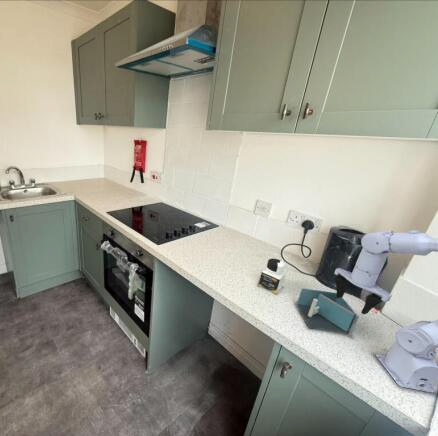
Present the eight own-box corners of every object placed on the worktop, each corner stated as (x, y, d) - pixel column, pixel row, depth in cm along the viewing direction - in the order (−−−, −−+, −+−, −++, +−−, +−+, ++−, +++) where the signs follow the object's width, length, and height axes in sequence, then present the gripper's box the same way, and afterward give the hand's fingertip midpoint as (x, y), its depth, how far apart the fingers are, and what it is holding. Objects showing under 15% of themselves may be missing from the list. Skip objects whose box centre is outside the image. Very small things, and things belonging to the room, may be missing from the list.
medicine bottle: (257, 285, 101) (264, 260, 97) (264, 278, 106) (271, 254, 101) (275, 294, 97) (283, 268, 92) (281, 286, 101) (289, 261, 97)
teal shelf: (338, 337, 77) (346, 319, 74) (305, 314, 85) (311, 297, 82) (347, 331, 79) (355, 313, 76) (314, 309, 87) (320, 293, 85)
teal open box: (350, 336, 78) (359, 316, 75) (309, 329, 80) (316, 310, 77) (331, 310, 89) (339, 292, 86) (296, 305, 91) (302, 287, 88)
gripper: (405, 280, 68) (385, 318, 73) (350, 255, 81) (337, 288, 86) (389, 285, 66) (370, 323, 71) (336, 258, 79) (322, 292, 84)
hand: (351, 304), depth 78 cm, fingers open, 7 cm apart
